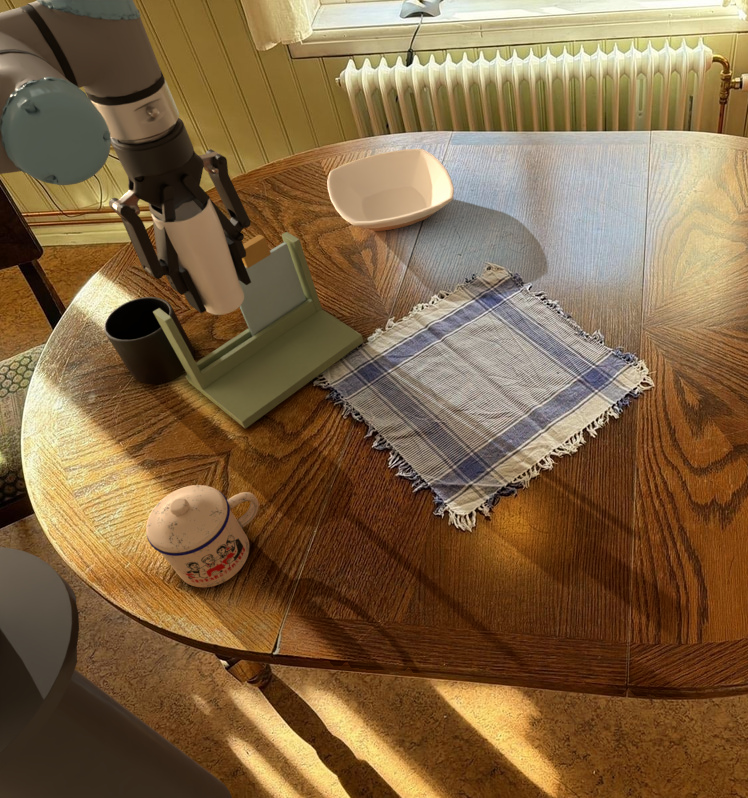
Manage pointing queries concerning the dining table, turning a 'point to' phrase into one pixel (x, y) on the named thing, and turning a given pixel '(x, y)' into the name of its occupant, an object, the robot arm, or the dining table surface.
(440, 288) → the dining table surface
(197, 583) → the teacup with lid
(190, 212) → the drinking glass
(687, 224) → the dining table surface
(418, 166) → the bowl
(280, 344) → the window frame
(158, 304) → the mug
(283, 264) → the panel
